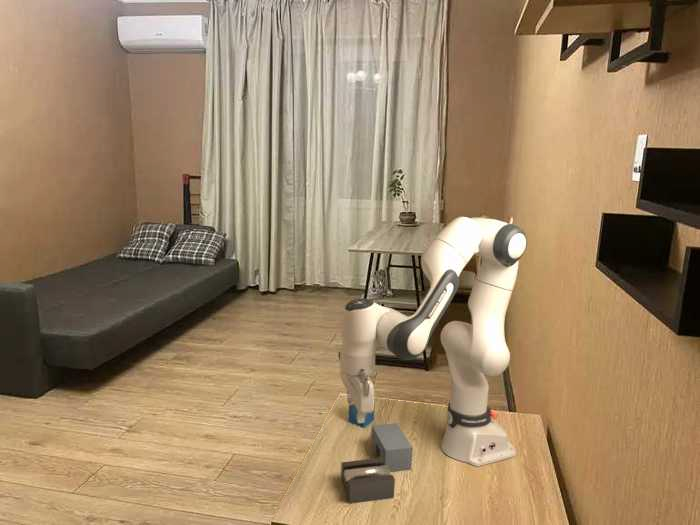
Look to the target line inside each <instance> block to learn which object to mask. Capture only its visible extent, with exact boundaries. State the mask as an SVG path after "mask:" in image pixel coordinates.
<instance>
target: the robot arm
mask: <svg viewBox="0 0 700 525" xmlns="http://www.w3.org/2000/svg"><path fill="white" fill-rule="evenodd" d="M527 246H528V238H527V235H526V232H525V231H524V230H523V228H521V227H519V226H517V225H515V224H513V223H507V222H504V221H501V220H499V219H494V218H486V217H479V216H475V215H473V216H471V215H470V216H458V217H456V218H455V219H453V220H451V221H450V222H449V223H448V224H447V225H446V226H444V228H442V229H441V231H439V232H438V234H437V235H436V236H434V238H433V239H432V240H431V241H430V243H429V244H428V245H427V247H426V248H425V249H424V250H423V253H422V254H421V258H420V264H421V265H420V266H421V270H422V272H423V273H424V275H425V276H426V278H427V280H429V282H430V287H429V290H428V292H427V294H426V295H425V297H424V298H423V300H422V302H421V303H420V305H419V306H418V308H417V310H416V312H414V314H412V315H410V316H408V315H406V314H404V313H401V312H400V311H398V310H396V309H394V308H391V307H388V306H382V305H380V304H378V303H377V302H375V301H374V300H373V299H372V298H371V299H370V298H363V297H362V298H356V299H352V300H350V301H349V302H347V303H346V305H345V306H344V308H343V311H342V318H341V324H340V326H341V327H340V328H341V329H340V337H341V339H342V343H341V346H340V349H339V350H338V351H337V352H338V353H337V357H338V359H339V368H340V378H341V382H342V383H343V386H344V387H345V389H346V394H347V396H346V397H347V401H346V402H347V404H348V406H349V405H355V406H356V408H357V410H358V414H357V418H356V419H357V422H358V423H364V422H365V415H366V414H367V413H372V412H373V410H374V404H375V390H374V388H375V387H374V384H373V381H372V379H371V378H370V375H371V374H373V373H374V372H375V371H376V370H375V369H376V349H377V348H378V347H383V348H385V349H387V351H389V352H390V353H391V354H393V355H394V356H395V357H397V359H399V360H401V361H413V360H414V359H417V358H418V357H419V356H420V355H421V356H422V354H423V353H424V352H425V350H426V348H427V346H428V344H429V342H430V339H431V337H432V334H433V332H434V330H435V328H436V327H437V326H438V324H439V322H440V320H441V318H442V316H444V313H445V312H446V310H447V309H448V307H449V305H450V303H451V302H452V300H453V299H454V296H455V295H456V293H457V291H458V289H459V285H460V275H461V273H462V271H463V270H464V268H465V267H466V265H467V264H468V263H469V261H470V260H471V259H472V257H473V256H474V255H475V256H477V257H480V258H481V260H482V263H481V265H480V266H479V268H478V271H477V274H476V277H475V279H474V283H473V286H472V289H471V292H470V295H469V298H468V301H467V307H468V310H469V312H470V315H471V323H469V322H466V321H460V320H453V321H450V322H448V323H447V324H445V325H444V327H443V328H442V330H441V332H440V342H441V345H442V347H443V348H444V351H445V355H446V358H447V362H448V363H447V364H448V367H449V368H448V369H449V374H450V393H449V395H450V397H449V402H448V405H447V413H446V422H447V424H446V426H445V427H446V428H445V432H444V435H443V437H442V440H441V442H440V448H441V450H442V452H443V453H444V454H445V455H447V456H448V457H450V458H451V459H454V460H457V461H460V462H464V463H467V464H469V465H472V466H474V467H482V466H486V465H489V464H493V463H497V462H500V461H503V460H507V459H511V458H515V457H516V450H515V448H514V445H513V444H512V443H511V442H510V440H509V438H508V434H507V432H506V430H505V429H504V428H503V426H502V425H500V423H498V422H497V421H496V420H497V419H498V418H499V414H498V413H497V412H496V411H495V410H492V408H491V407H489V406H488V400H489V398H488V397H489V386H490V385H489V382H488V380H487V378H486V376H485V375H487V376H491V377H496V376H498V375H501V374H502V373H503V372H504V371H505V370H506V369H507V368H508V366H509V364H510V361H511V353H510V350H509V347H508V345H507V343H506V338H505V337H506V336H505V335H506V334H505V320H506V314H507V310H508V307H509V303H510V300H511V297H512V294H513V290H514V289H515V288H514V287H515V284H516V280H517V278H518V277H517V276H518V271H519V270H518V269H519V263H520V262H519V261H520V260H521V258H522V257H524V256H523V255H524V253H525V252H526V249H527ZM374 411H375V410H374Z"/></svg>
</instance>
